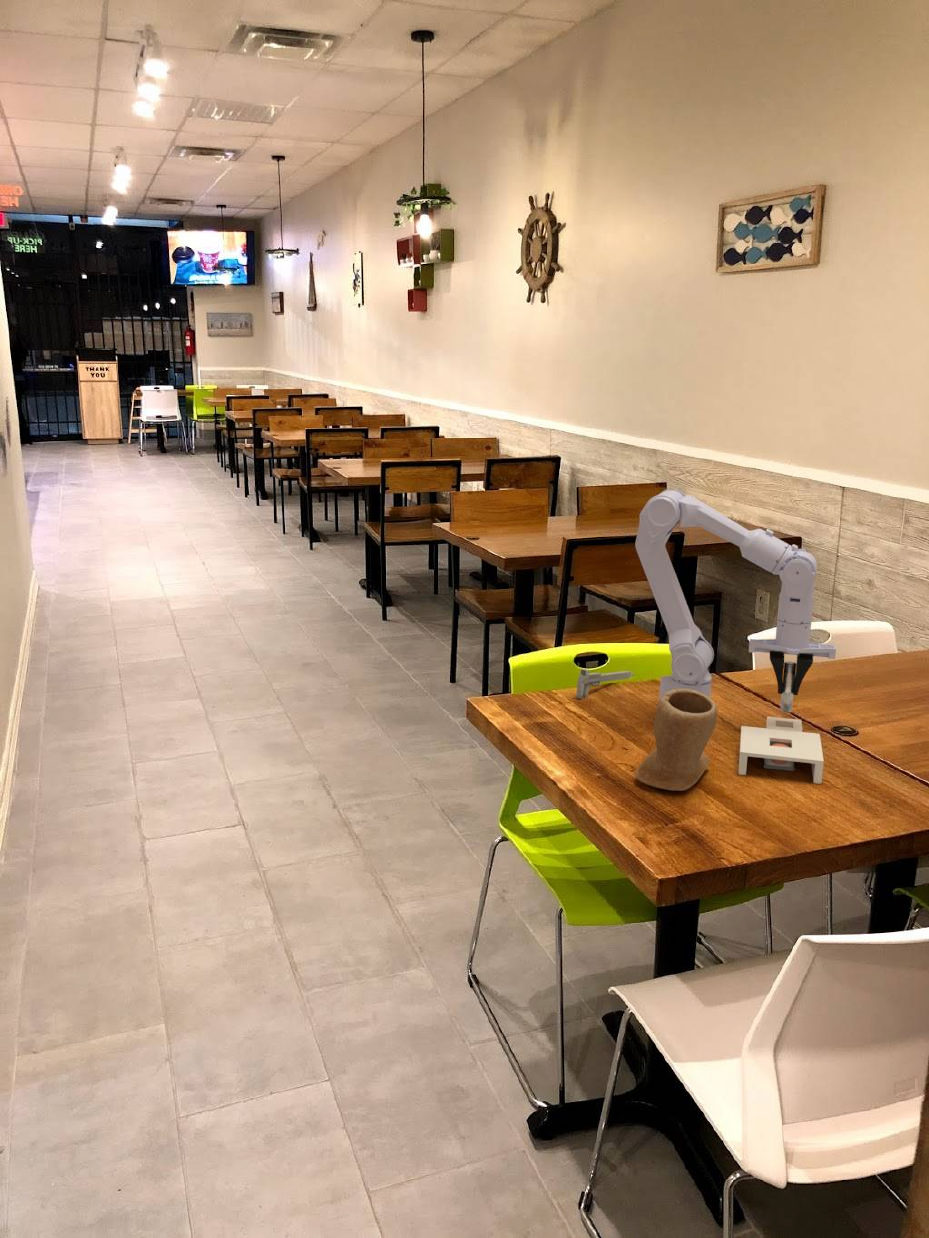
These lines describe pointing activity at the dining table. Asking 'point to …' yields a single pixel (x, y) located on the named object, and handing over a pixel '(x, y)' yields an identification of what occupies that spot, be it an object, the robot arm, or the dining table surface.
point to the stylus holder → (784, 724)
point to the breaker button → (779, 762)
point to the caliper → (596, 680)
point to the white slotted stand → (781, 748)
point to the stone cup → (679, 740)
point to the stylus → (788, 686)
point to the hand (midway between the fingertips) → (787, 692)
